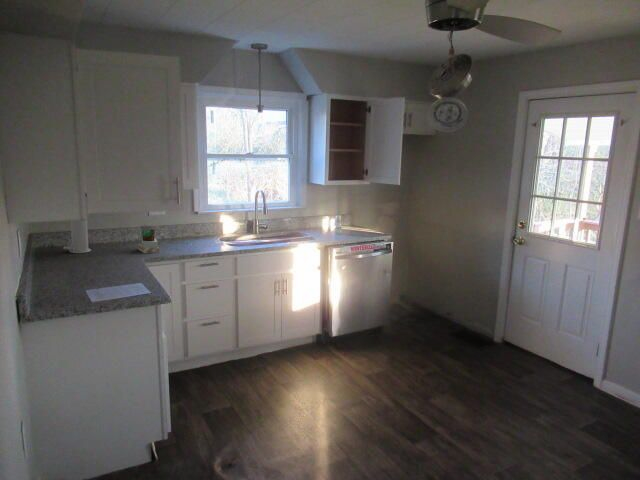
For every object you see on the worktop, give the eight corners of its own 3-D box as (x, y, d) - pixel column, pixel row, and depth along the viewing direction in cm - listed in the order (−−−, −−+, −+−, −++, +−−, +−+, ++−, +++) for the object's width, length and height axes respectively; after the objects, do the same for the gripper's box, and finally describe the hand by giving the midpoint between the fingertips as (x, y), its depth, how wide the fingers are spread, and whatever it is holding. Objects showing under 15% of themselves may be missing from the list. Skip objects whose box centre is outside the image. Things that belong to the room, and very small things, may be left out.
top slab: (143, 248, 312) (143, 242, 312) (141, 244, 324) (141, 238, 323) (157, 247, 316) (157, 241, 315) (155, 243, 328) (155, 238, 327)
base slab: (144, 254, 312) (144, 248, 311) (138, 250, 323) (137, 244, 322) (159, 252, 318) (159, 247, 317) (152, 248, 329) (152, 243, 328)
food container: (136, 239, 319) (136, 224, 317) (145, 238, 324) (144, 224, 322) (147, 242, 312) (147, 227, 310) (155, 241, 317) (155, 226, 315)
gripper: (108, 178, 314) (108, 204, 317) (134, 179, 325) (134, 203, 328) (105, 178, 319) (105, 202, 322) (131, 178, 330) (131, 202, 333)
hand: (120, 203), depth 325 cm, fingers open, 9 cm apart
